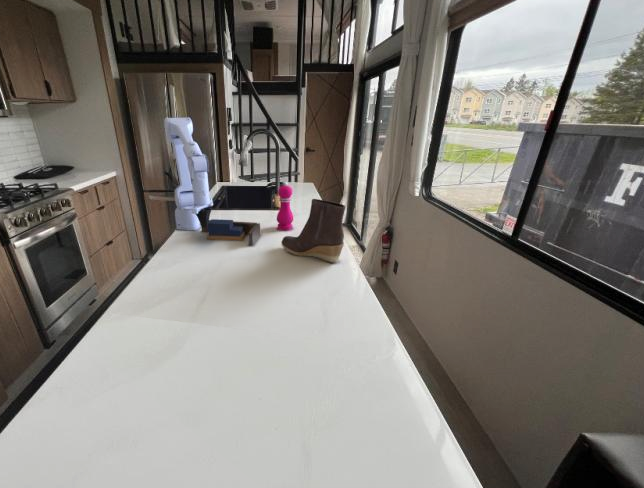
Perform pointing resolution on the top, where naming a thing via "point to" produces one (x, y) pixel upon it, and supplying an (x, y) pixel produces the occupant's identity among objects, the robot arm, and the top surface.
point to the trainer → (224, 230)
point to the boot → (320, 232)
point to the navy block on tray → (246, 230)
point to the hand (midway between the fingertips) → (204, 227)
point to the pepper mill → (285, 208)
